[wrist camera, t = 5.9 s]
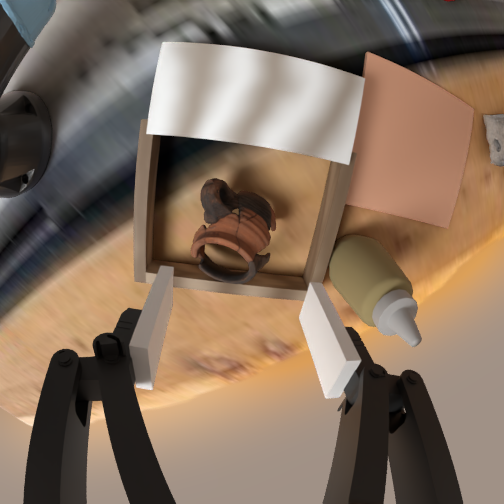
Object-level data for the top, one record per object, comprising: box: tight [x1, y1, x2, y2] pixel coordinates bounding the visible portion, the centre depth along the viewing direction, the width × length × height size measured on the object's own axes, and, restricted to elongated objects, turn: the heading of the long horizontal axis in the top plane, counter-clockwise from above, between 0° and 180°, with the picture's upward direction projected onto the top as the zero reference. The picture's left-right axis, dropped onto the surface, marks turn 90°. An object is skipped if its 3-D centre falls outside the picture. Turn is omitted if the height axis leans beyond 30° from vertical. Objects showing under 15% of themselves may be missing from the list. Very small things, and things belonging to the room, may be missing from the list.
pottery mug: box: [191, 178, 276, 284], centre depth 31 cm, size 12×9×8 cm
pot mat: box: [345, 52, 474, 229], centre depth 31 cm, size 20×20×1 cm
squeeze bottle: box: [329, 235, 422, 347], centre depth 29 cm, size 8×8×18 cm
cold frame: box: [134, 42, 365, 301], centre depth 30 cm, size 23×28×4 cm
